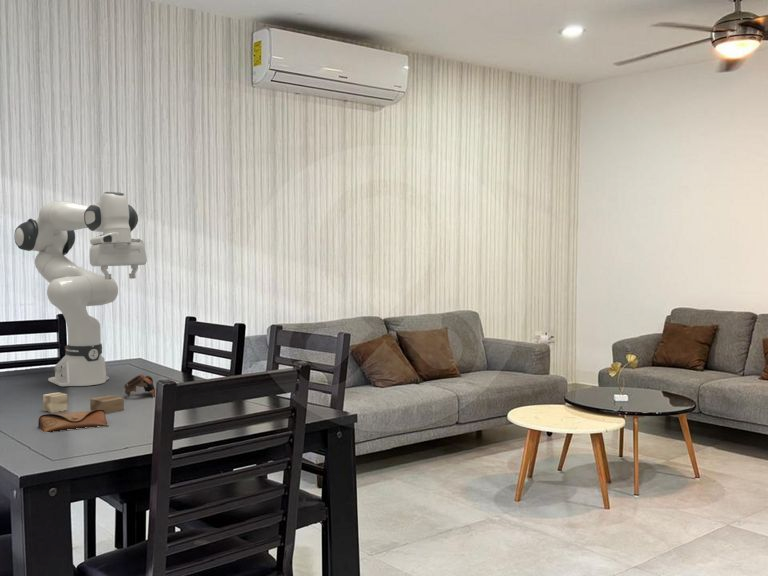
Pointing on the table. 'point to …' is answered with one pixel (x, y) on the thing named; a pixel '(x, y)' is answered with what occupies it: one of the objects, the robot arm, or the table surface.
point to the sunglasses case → (72, 420)
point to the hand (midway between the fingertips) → (120, 279)
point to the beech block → (55, 402)
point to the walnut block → (107, 403)
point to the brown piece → (140, 384)
